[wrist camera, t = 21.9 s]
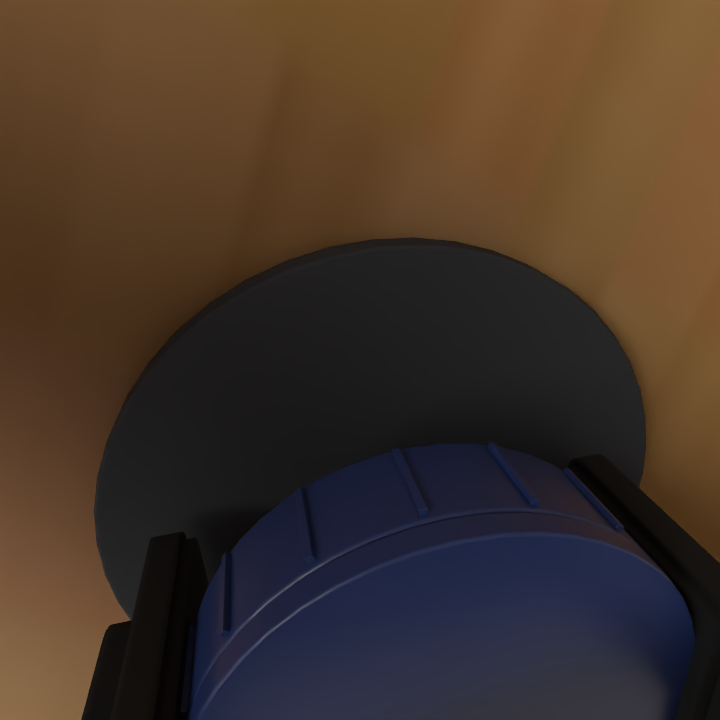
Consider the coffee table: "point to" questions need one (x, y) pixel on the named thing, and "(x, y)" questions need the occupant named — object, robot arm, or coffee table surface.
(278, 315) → the coaster
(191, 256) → the coffee table surface
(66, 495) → the coffee table surface
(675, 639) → the lid
